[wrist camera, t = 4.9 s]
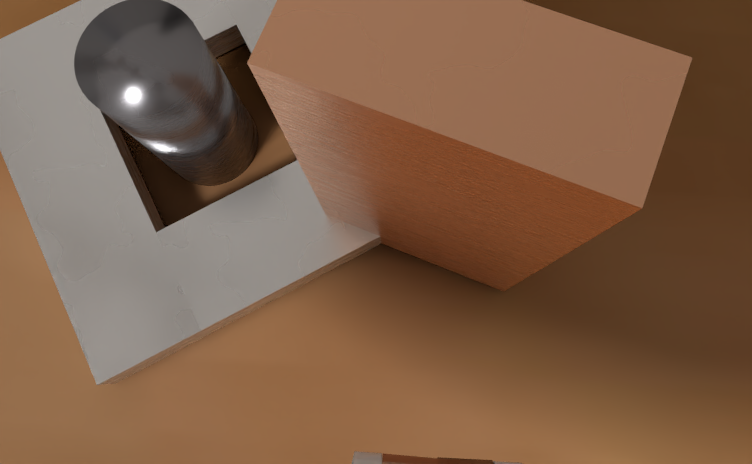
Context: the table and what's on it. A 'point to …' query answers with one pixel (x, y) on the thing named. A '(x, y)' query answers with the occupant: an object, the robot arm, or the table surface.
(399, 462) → the robot arm
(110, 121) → the square hole fixture
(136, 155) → the table surface
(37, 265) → the table surface
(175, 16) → the post fixture
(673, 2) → the table surface
